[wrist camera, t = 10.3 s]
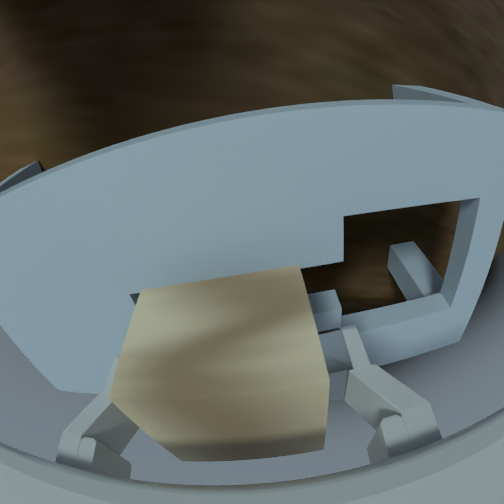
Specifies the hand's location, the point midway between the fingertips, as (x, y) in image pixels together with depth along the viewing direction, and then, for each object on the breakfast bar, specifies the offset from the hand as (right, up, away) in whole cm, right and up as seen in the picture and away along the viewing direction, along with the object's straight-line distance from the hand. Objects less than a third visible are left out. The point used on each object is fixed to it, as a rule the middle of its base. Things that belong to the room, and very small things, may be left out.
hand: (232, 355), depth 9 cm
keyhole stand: (-1, +6, +8) cm, 10 cm away
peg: (0, +3, +5) cm, 6 cm away
